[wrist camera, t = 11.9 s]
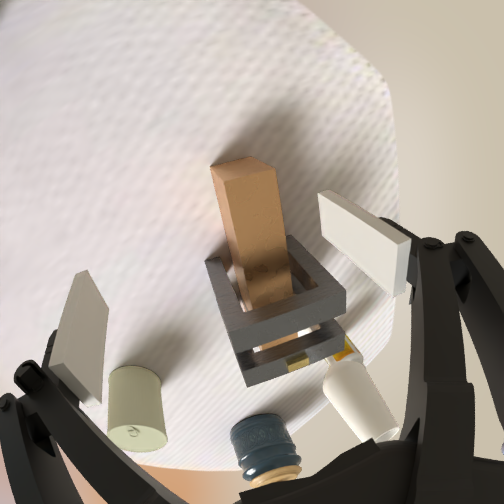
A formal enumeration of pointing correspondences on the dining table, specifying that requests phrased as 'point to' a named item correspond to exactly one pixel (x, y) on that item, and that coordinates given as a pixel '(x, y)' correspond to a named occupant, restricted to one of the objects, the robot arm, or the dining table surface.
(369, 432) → the champagne flute
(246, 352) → the collar
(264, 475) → the canister
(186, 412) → the dining table surface
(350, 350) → the supplement bottle
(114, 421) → the can
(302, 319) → the collar
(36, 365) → the robot arm
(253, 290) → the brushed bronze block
